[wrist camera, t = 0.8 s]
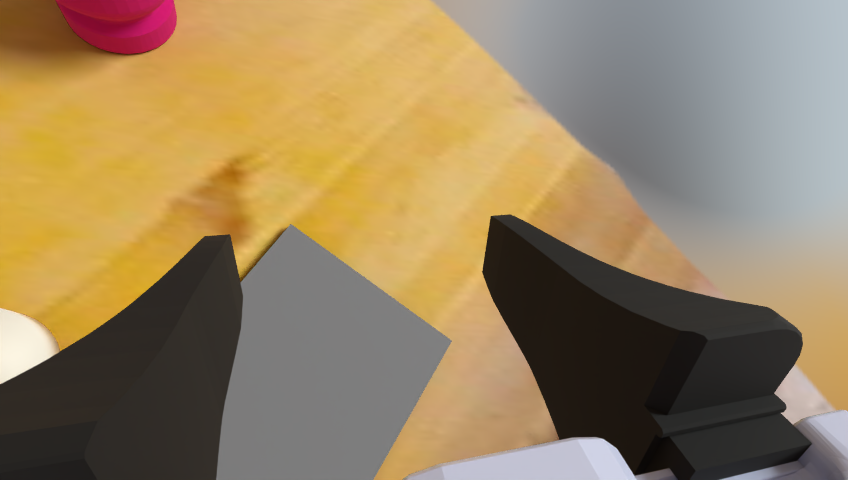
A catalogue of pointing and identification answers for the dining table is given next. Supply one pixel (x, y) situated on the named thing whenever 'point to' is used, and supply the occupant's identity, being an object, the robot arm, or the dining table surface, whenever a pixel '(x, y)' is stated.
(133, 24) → the pepper mill
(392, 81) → the dining table surface
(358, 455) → the mat
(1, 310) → the stool
